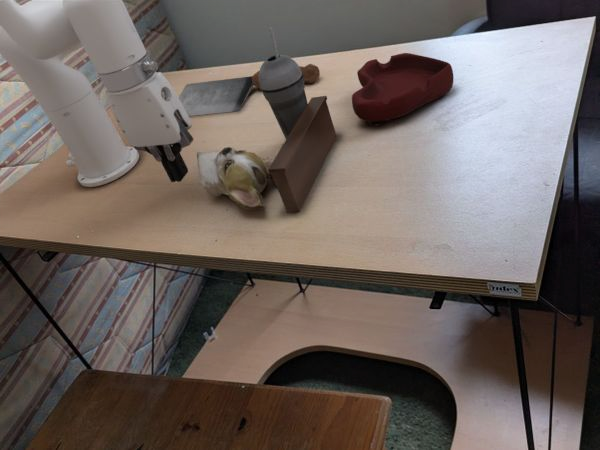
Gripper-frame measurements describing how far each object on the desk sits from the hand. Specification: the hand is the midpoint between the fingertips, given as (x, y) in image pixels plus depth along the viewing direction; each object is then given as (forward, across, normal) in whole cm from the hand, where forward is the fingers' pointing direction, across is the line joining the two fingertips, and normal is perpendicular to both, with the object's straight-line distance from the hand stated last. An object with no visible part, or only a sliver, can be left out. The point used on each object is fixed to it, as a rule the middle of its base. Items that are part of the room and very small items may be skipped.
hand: (180, 176), depth 91 cm
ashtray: (+3, -33, -24) cm, 41 cm away
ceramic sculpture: (+4, -12, +1) cm, 13 cm away
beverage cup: (+4, -17, -13) cm, 21 cm away
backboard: (+3, -22, -4) cm, 22 cm away
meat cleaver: (+4, +4, -34) cm, 34 cm away
